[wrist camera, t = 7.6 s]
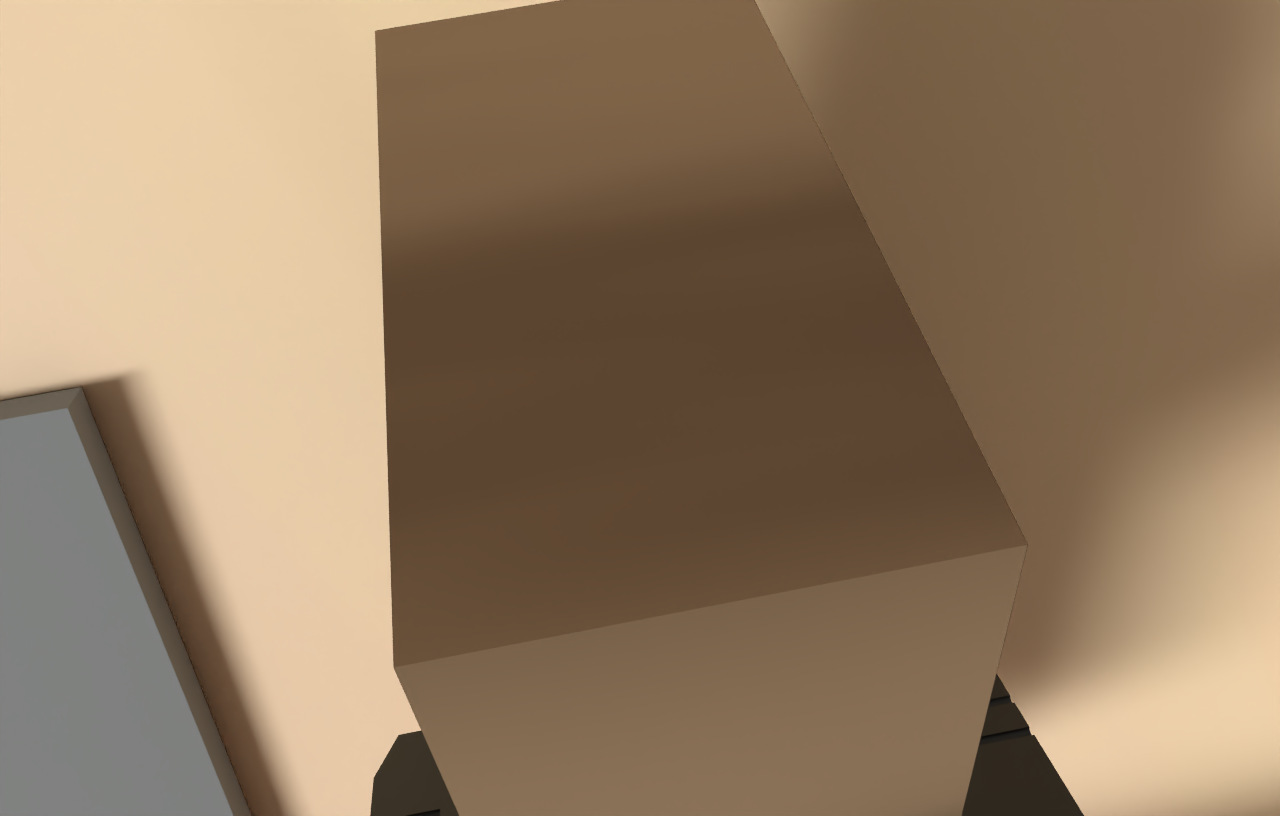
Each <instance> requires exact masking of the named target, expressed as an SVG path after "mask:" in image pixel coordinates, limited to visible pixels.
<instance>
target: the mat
mask: <svg viewBox="0 0 1280 816" xmlns="http://www.w3.org/2000/svg"><path fill="white" fill-rule="evenodd" d="M0 816H252V815H251V813H250V810H249V808H248V805H247V803H246V800H245V798H244V795H243V793H242V790H241V788H240V785H239V783H238V780H237V778H236V775H235V773H234V770H233V767H232V765H231V762H230V760H229V757H228V755H227V752H226V750H225V747H224V745H223V742H222V740H221V737H220V735H219V732H218V730H217V727H216V725H215V722H214V720H213V717H212V715H211V712H210V710H209V707H208V705H207V702H206V700H205V697H204V694H203V692H202V689H201V687H200V684H199V682H198V679H197V677H196V674H195V672H194V669H193V667H192V664H191V662H190V659H189V657H188V654H187V652H186V649H185V647H184V644H183V642H182V639H181V637H180V634H179V632H178V629H177V627H176V624H175V621H174V619H173V616H172V614H171V611H170V609H169V606H168V604H167V601H166V599H165V596H164V594H163V591H162V589H161V586H160V584H159V581H158V579H157V576H156V574H155V571H154V569H153V566H152V564H151V561H150V559H149V556H148V554H147V551H146V548H145V546H144V543H143V541H142V538H141V536H140V533H139V531H138V528H137V526H136V523H135V521H134V518H133V516H132V513H131V511H130V508H129V506H128V503H127V501H126V498H125V496H124V493H123V491H122V488H121V486H120V483H119V481H118V478H117V475H116V473H115V470H114V468H113V465H112V463H111V460H110V458H109V455H108V453H107V450H106V448H105V445H104V443H103V440H102V438H101V435H100V433H99V430H98V428H97V425H96V423H95V420H94V418H93V415H92V413H91V410H90V408H89V405H88V402H87V400H86V397H85V395H84V392H83V390H82V387H79V388H73V389H67V390H62V391H56V392H50V393H45V394H39V395H33V396H28V397H22V398H16V399H11V400H5V401H0Z"/></svg>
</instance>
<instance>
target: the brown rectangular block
mask: <svg viewBox="0 0 1280 816" xmlns="http://www.w3.org/2000/svg"><path fill="white" fill-rule="evenodd" d="M375 42H376V77H377V111H378V145H379V180H380V214H381V249H382V283H383V317H384V352H385V386H386V421H387V455H388V489H389V524H390V558H391V592H392V627H393V661H394V669H395V672H396V674H397V676H398V678H399V681H400V683H401V685H402V687H403V690H404V692H405V694H406V696H407V699H408V701H409V703H410V705H411V708H412V710H413V712H414V715H415V717H416V719H417V721H418V724H419V726H420V728H421V730H422V733H423V735H424V737H425V739H426V742H427V744H428V746H429V748H430V751H431V753H432V755H433V757H434V760H435V762H436V764H437V766H438V769H439V771H440V773H441V775H442V778H443V780H444V782H445V784H446V787H447V789H448V791H449V793H450V796H451V798H452V800H453V803H454V805H455V807H456V809H457V812H458V814H459V816H962V811H963V807H964V803H965V799H966V795H967V791H968V787H969V783H970V779H971V775H972V771H973V767H974V762H975V758H976V754H977V750H978V746H979V742H980V738H981V734H982V730H983V726H984V722H985V717H986V713H987V709H988V705H989V701H990V697H991V693H992V689H993V685H994V681H995V677H996V673H997V668H998V664H999V660H1000V656H1001V652H1002V648H1003V644H1004V640H1005V636H1006V632H1007V628H1008V624H1009V619H1010V615H1011V611H1012V607H1013V603H1014V599H1015V595H1016V591H1017V587H1018V583H1019V579H1020V574H1021V570H1022V566H1023V562H1024V558H1025V554H1026V550H1027V546H1028V544H1027V542H1026V540H1025V538H1024V536H1023V534H1022V532H1021V530H1020V528H1019V526H1018V524H1017V522H1016V520H1015V518H1014V516H1013V514H1012V512H1011V510H1010V508H1009V506H1008V504H1007V502H1006V500H1005V498H1004V496H1003V494H1002V492H1001V490H1000V488H999V486H998V484H997V482H996V480H995V478H994V476H993V474H992V472H991V470H990V468H989V466H988V464H987V462H986V460H985V458H984V456H983V454H982V452H981V450H980V448H979V446H978V444H977V443H976V441H975V439H974V437H973V435H972V433H971V431H970V429H969V427H968V425H967V423H966V421H965V419H964V417H963V415H962V413H961V411H960V409H959V407H958V405H957V403H956V401H955V399H954V397H953V395H952V393H951V391H950V389H949V387H948V385H947V383H946V381H945V379H944V377H943V375H942V373H941V371H940V369H939V367H938V365H937V363H936V361H935V359H934V357H933V355H932V353H931V351H930V349H929V347H928V345H927V343H926V341H925V339H924V337H923V335H922V333H921V331H920V329H919V327H918V325H917V323H916V321H915V319H914V317H913V315H912V313H911V311H910V309H909V307H908V305H907V303H906V301H905V299H904V297H903V295H902V293H901V291H900V289H899V287H898V285H897V283H896V281H895V279H894V277H893V275H892V273H891V271H890V269H889V267H888V265H887V263H886V261H885V259H884V257H883V255H882V253H881V251H880V249H879V247H878V245H877V243H876V241H875V239H874V237H873V235H872V233H871V231H870V229H869V227H868V225H867V223H866V221H865V219H864V217H863V215H862V213H861V211H860V209H859V207H858V205H857V203H856V201H855V199H854V197H853V195H852V193H851V191H850V190H849V188H848V186H847V184H846V182H845V180H844V178H843V176H842V174H841V172H840V170H839V168H838V166H837V164H836V162H835V160H834V158H833V156H832V154H831V152H830V150H829V148H828V146H827V144H826V142H825V140H824V138H823V136H822V134H821V132H820V130H819V128H818V126H817V124H816V122H815V120H814V118H813V116H812V114H811V112H810V110H809V108H808V106H807V104H806V102H805V100H804V98H803V96H802V94H801V92H800V90H799V88H798V86H797V84H796V82H795V80H794V78H793V76H792V74H791V72H790V70H789V68H788V66H787V64H786V62H785V60H784V58H783V56H782V54H781V52H780V50H779V48H778V46H777V44H776V42H775V40H774V38H773V36H772V34H771V32H770V30H769V28H768V26H767V24H766V22H765V20H764V18H763V16H762V14H761V12H760V10H759V8H758V6H757V4H756V2H755V0H560V1H554V2H548V3H541V4H535V5H529V6H523V7H517V8H511V9H505V10H499V11H493V12H487V13H481V14H474V15H468V16H462V17H456V18H450V19H444V20H438V21H432V22H426V23H420V24H414V25H407V26H401V27H395V28H389V29H383V30H377V31H375Z"/></svg>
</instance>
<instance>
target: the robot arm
mask: <svg viewBox="0 0 1280 816" xmlns="http://www.w3.org/2000/svg"><path fill="white" fill-rule="evenodd" d="M370 816H459V814H458V812H457V809H456V807H455V805H454V803H453V800H452V798H451V796H450V793H449V791H448V789H447V787H446V784H445V782H444V780H443V778H442V775H441V773H440V771H439V769H438V766H437V764H436V762H435V760H434V757H433V755H432V753H431V751H430V748H429V746H428V744H427V742H426V739H425V737H424V735H423V733H422V731H417V732H412V733H407V734H402V735H398V737H397V739H396V741H395V742H394V744H393V746H392V748H391V749H390V751H389V753H388V754H387V756H386V758H385V760H384V761H383V763H382V765H381V767H380V768H379V770H378V772H377V773H376V775H375V777H374V782H373V793H372V804H371V815H370ZM962 816H1084V815H1083V813H1082V812H1081V810H1080V809H1079V807H1078V805H1077V804H1076V802H1075V800H1074V799H1073V797H1072V796H1071V794H1070V792H1069V791H1068V789H1067V787H1066V786H1065V784H1064V783H1063V781H1062V779H1061V778H1060V776H1059V774H1058V773H1057V771H1056V770H1055V768H1054V766H1053V765H1052V763H1051V761H1050V760H1049V758H1048V757H1047V755H1046V753H1045V752H1044V750H1043V748H1042V747H1041V745H1040V744H1039V742H1038V740H1037V739H1036V737H1035V735H1031V733H1030V730H1029V726H1028V724H1027V722H1026V721H1025V719H1024V718H1023V716H1022V714H1021V713H1020V711H1019V709H1018V708H1017V706H1016V705H1015V703H1012V702H1011V700H1010V695H1009V693H1008V692H1007V690H1006V688H1005V687H1004V685H1003V683H1002V682H1001V680H1000V679H999V677H998V675H997V674H996V677H995V681H994V685H993V689H992V693H991V697H990V701H989V705H988V709H987V713H986V717H985V722H984V726H983V730H982V734H981V738H980V742H979V746H978V750H977V754H976V758H975V762H974V767H973V771H972V775H971V779H970V783H969V787H968V791H967V795H966V799H965V803H964V807H963V811H962Z"/></svg>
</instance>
